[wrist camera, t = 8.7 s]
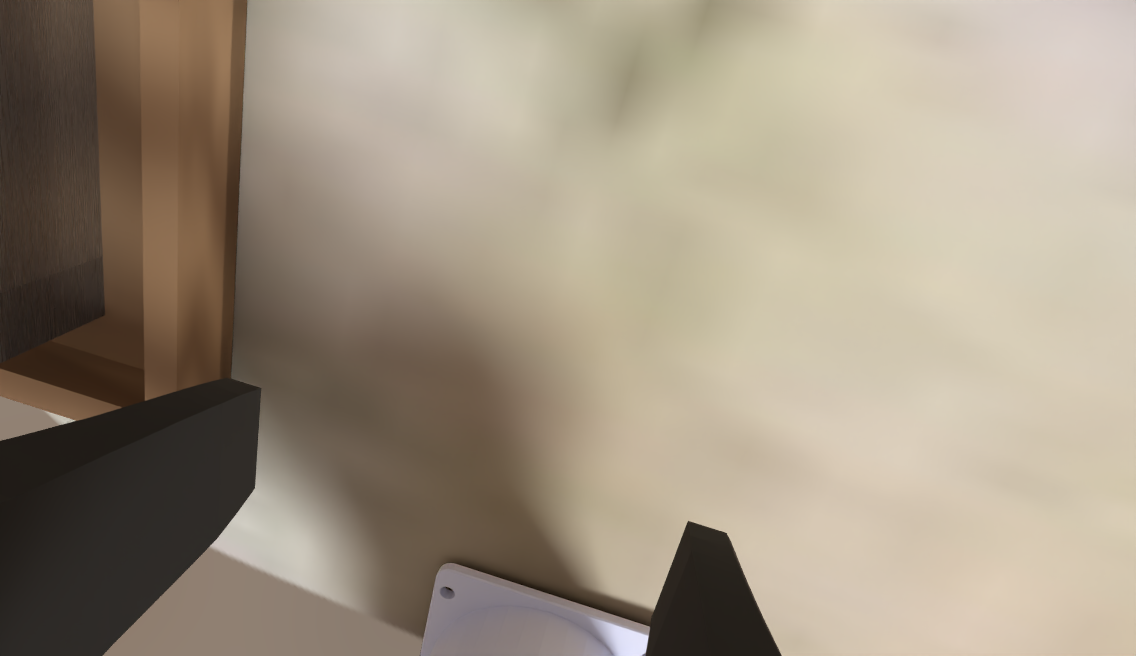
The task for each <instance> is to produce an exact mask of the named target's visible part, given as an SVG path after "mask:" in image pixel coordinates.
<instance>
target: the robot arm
mask: <svg viewBox="0 0 1136 656" xmlns="http://www.w3.org/2000/svg"><path fill="white" fill-rule="evenodd" d="M260 398H261V388H259V387H255V386H252V385H249V384H246V383H243V382H239V381H236V380H233V379H230V378H223V379H219V380H215V381H211V382H207V383H203V384H199V385H196V386H192V387H189V388H186V389H182V390H179V391H176V392H172V393H169V394H166V395H162V396H159V397H156V398H153V399H149V400H146V401H143V402H139V403H136V404H133V405H129V406H126V407H123V408H119V409H116V410H113V411H110V412H106V413H103V414H100V415H96V416H93V417H89V418H86V419H82V420H78V421H74V422H71V423H67V424H63V425H59V426H56V427H52V428H48V429H45V430H41V431H37V432H34V433H29V434H26V435H22V436H19V437H14V438H11V439H6V440H2V441H0V656H102V655H103V654H104V653H105V652H106V651H107V650H108V649H109V648H110V647H111V646H112V645H113V644H114V643H115V642H116V641H117V640H118V639H119V638H120V637H121V636H122V635H123V634H124V633H125V632H126V631H127V630H128V629H129V627H131V626H132V625H133V624H134V623H135V622H136V621H137V620H138V619H139V618H140V617H141V616H142V614H143V613H145V612H146V610H147V609H148V608H149V607H150V606H151V605H152V604H153V603H154V602H155V601H156V600H157V599H158V598H159V597H160V596H161V595H162V594H163V593H164V592H165V591H166V590H167V589H168V588H169V587H170V586H171V585H172V584H173V583H174V582H175V581H176V580H177V579H178V578H179V577H180V576H181V575H182V574H183V573H184V572H185V571H186V570H187V569H188V568H189V567H190V566H191V565H192V564H193V563H194V562H195V561H196V560H197V559H198V558H199V557H200V556H201V555H202V554H203V553H204V552H205V551H206V550H207V548H208V547H209V546H210V545H211V544H212V543H213V542H214V541H215V540H216V539H217V538H218V537H219V535H220V534H221V533H222V532H223V530H224V529H225V528H226V526H227V525H228V524H229V523H230V521H231V520H232V519H233V517H234V516H235V515H236V513H237V512H238V511H239V509H240V508H241V507H242V505H243V504H244V502H245V501H246V500H247V498H248V497H249V496H250V494H251V493H252V492H253V490H254V489H255V477H256V461H257V445H258V430H259V414H260ZM445 587H449V588H451V589H452V590H453V591H450V590H448V589H446V588H445ZM645 653H646V654H645ZM420 656H782V655H781V653H780V651H779V649H778V647H777V645H776V643H775V641H774V639H773V637H772V635H771V633H770V631H769V629H768V627H767V625H766V623H765V620H764V618H763V616H762V614H761V612H760V610H759V607H758V605H757V603H756V601H755V598H754V596H753V594H752V592H751V589H750V587H749V585H748V582H747V580H746V578H745V575H744V573H743V570H742V568H741V566H740V563H739V561H738V558H737V556H736V553H735V551H734V548H733V546H732V543H731V541H730V539H729V537H728V535H727V533H725V532H722V531H718V530H715V529H712V528H709V527H705V526H702V525H699V524H696V523H693V522H689V521H688V523H687V525H686V528H685V531H684V533H683V536H682V538H681V541H680V544H679V546H678V549H677V552H676V554H675V557H674V560H673V562H672V565H671V568H670V570H669V573H668V576H667V578H666V581H665V584H664V586H663V589H662V591H661V594H660V597H659V599H658V602H657V605H656V607H655V610H654V613H653V615H652V619H651V625H650V627H649V626H646V625H643V624H640V623H637V622H634V621H631V620H628V619H625V618H621V617H618V616H615V615H612V614H609V613H606V612H603V611H600V610H597V609H594V608H591V607H588V606H584V605H581V604H578V603H575V602H572V601H569V600H566V599H563V598H560V597H557V596H554V595H551V594H547V593H544V592H541V591H538V590H535V589H532V588H529V587H526V586H523V585H520V584H517V583H514V582H511V581H507V580H504V579H501V578H498V577H495V576H492V575H489V574H486V573H483V572H480V571H477V570H474V569H470V568H467V567H464V566H461V565H458V564H455V563H446V564H444V565H442V566H441V567H440V569H439V571H438V573H437V575H436V579H435V584H434V589H433V593H432V598H431V603H430V608H429V613H428V618H427V623H426V628H425V633H424V638H423V643H422V648H421V652H420Z"/></svg>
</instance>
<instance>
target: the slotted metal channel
mask: <svg viewBox="0 0 1136 656" xmlns="http://www.w3.org/2000/svg"><path fill="white" fill-rule="evenodd" d="M104 315H105V302H104V275H103V249H102V222H101V196H100V169H99V143H98V116H97V90H96V63H95V37H94V10H93V0H0V363H2V362H4V361H7V360H9V359H11V358H13V357H15V356H17V355H20V354H22V353H24V352H26V351H28V350H31V349H33V348H35V347H37V346H39V345H41V344H44V343H46V342H48V341H50V340H52V339H54V338H57V337H59V336H61V335H63V334H65V333H67V332H70V331H72V330H74V329H76V328H78V327H81V326H83V325H85V324H87V323H89V322H91V321H94V320H96V319H98V318H100V317H102V316H104Z"/></svg>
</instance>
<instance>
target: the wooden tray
mask: <svg viewBox="0 0 1136 656" xmlns="http://www.w3.org/2000/svg"><path fill="white" fill-rule="evenodd" d="M93 10H94V37H95V63H96V90H97V116H98V143H99V169H100V196H101V222H102V249H103V275H104V302H105V315H104V316H102V317H100V318H98V319H96V320H94V321H91V322H89V323H87V324H85V325H83V326H81V327H78V328H76V329H74V330H72V331H70V332H67V333H65V334H63V335H61V336H59V337H57V338H54V339H52V340H50V341H48V342H46V343H44V344H41V345H39V346H37V347H35V348H33V349H31V350H28V351H26V352H24V353H22V354H20V355H17V356H15V357H13V358H11V359H9V360H7V361H4V362H2V363H0V396H2V397H5V398H8V399H11V400H14V401H17V402H21V403H23V404H27V405H30V406H33V407H36V408H39V409H42V410H45V411H48V412H51V413H54V414H58V415H61V416H64V417H67V418H70V419H73V420H76V421H78V420H82V419H86V418H89V417H93V416H96V415H100V414H103V413H106V412H110V411H113V410H116V409H119V408H123V407H126V406H129V405H133V404H136V403H139V402H143V401H146V400H149V399H153V398H156V397H159V396H162V395H166V394H169V393H172V392H176V391H179V390H182V389H186V388H189V387H192V386H196V385H199V384H203V383H207V382H211V381H215V380H219V379H223V378H230V379H231V365H232V342H233V319H234V296H235V272H236V249H237V226H238V203H239V179H240V156H241V133H242V110H243V87H244V63H245V40H246V17H247V0H93Z"/></svg>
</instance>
